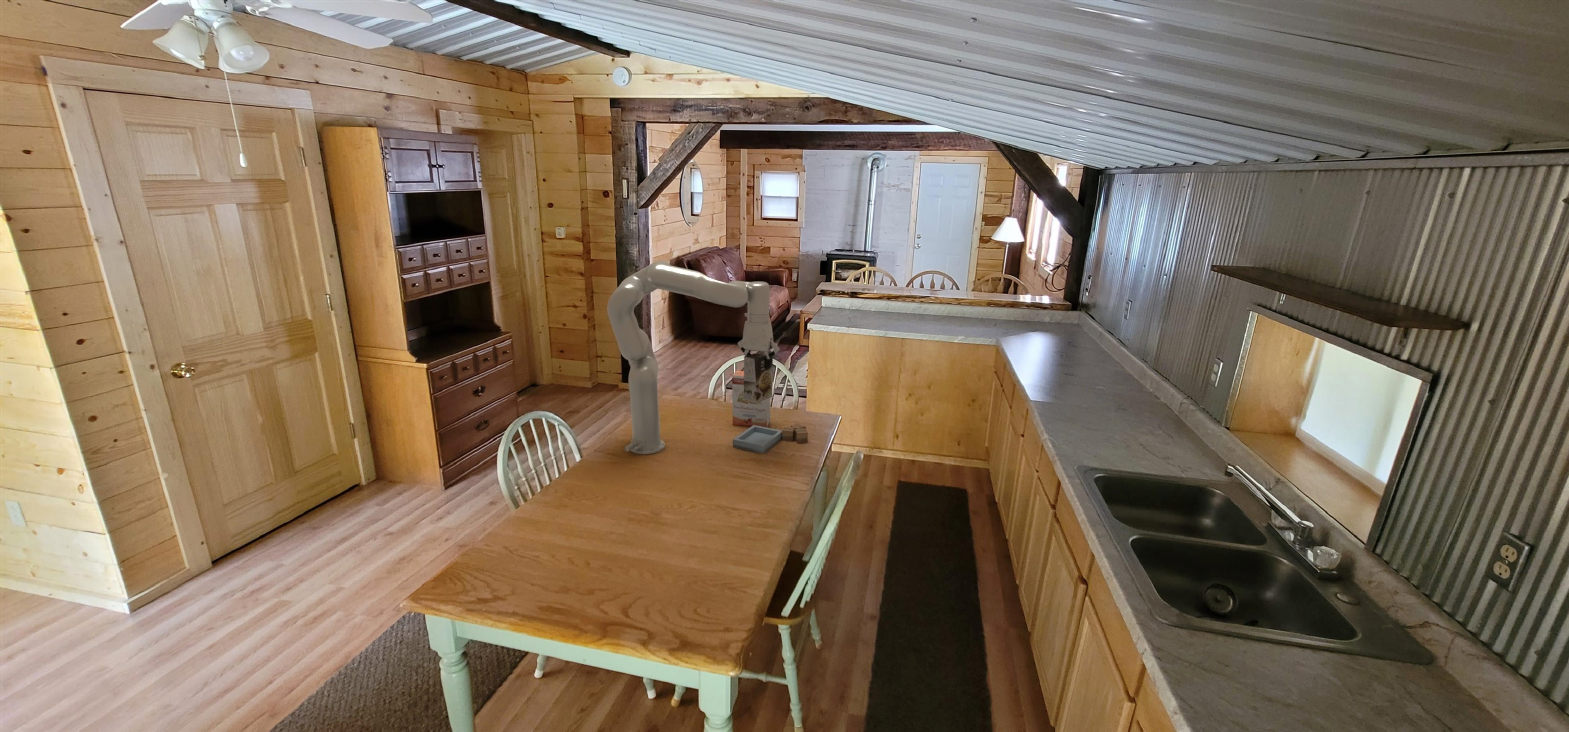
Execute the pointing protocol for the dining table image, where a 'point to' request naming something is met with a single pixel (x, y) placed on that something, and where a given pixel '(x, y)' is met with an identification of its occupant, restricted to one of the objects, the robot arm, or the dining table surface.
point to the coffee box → (757, 378)
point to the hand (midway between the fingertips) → (758, 366)
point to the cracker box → (747, 405)
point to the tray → (757, 439)
